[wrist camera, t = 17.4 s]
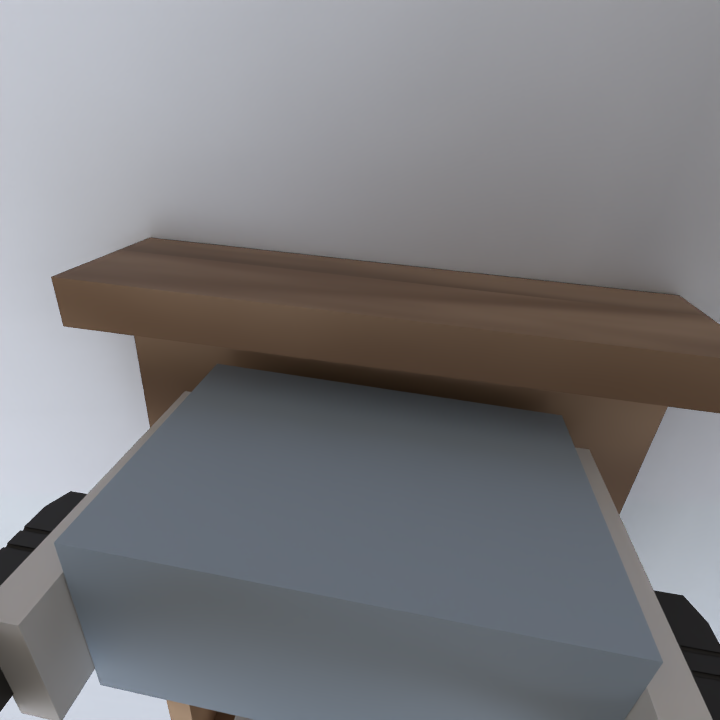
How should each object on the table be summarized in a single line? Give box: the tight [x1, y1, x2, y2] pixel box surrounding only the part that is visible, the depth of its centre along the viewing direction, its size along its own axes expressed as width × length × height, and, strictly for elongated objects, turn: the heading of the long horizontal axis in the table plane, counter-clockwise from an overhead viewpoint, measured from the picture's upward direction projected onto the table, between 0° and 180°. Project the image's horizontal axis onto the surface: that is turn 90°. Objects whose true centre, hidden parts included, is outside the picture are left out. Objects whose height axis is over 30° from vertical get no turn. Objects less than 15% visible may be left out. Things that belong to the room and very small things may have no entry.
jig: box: [51, 238, 720, 720], centre depth 17 cm, size 24×15×4 cm, turn 176°
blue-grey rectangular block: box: [54, 364, 663, 720], centre depth 10 cm, size 9×4×6 cm, turn 85°
